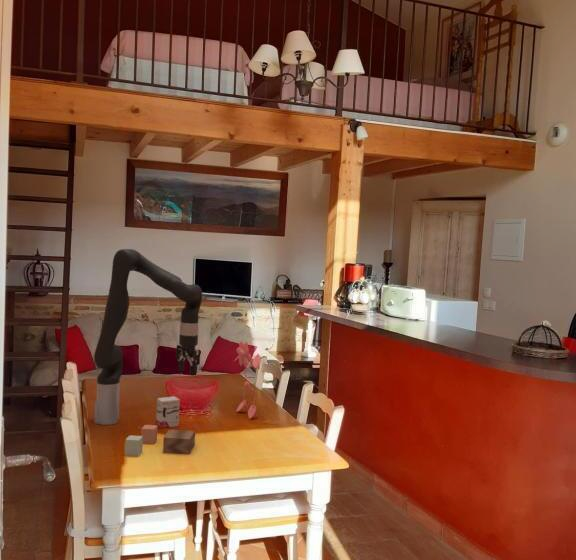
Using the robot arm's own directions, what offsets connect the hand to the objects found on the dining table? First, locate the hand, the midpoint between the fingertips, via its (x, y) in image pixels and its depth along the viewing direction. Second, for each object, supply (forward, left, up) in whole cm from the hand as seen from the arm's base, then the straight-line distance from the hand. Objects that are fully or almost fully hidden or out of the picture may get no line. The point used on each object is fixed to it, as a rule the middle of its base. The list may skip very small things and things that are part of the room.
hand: (186, 372), depth 252 cm
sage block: (-13, -27, -25) cm, 39 cm away
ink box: (-9, +9, -26) cm, 29 cm away
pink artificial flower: (+20, +29, -26) cm, 43 cm away
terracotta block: (-11, -13, -25) cm, 31 cm away
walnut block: (+2, -19, -26) cm, 32 cm away
